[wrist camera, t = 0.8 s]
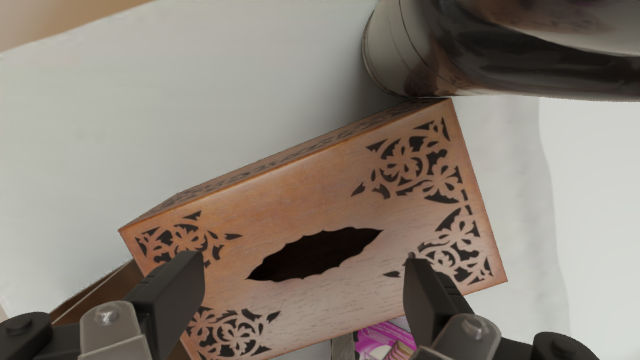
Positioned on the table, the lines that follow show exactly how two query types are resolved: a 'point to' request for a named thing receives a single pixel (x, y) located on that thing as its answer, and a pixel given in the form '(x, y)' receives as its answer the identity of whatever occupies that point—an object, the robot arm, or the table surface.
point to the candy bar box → (374, 344)
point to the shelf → (106, 300)
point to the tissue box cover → (325, 233)
